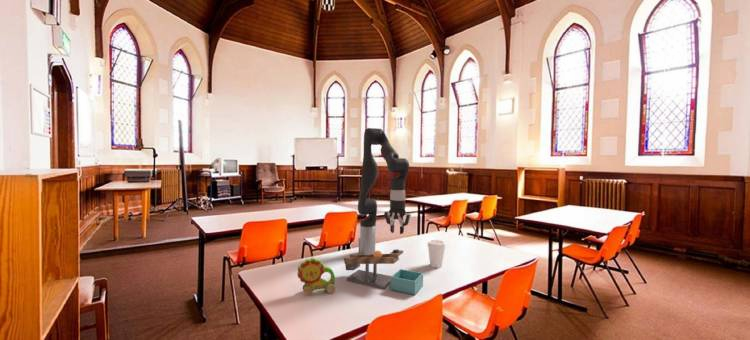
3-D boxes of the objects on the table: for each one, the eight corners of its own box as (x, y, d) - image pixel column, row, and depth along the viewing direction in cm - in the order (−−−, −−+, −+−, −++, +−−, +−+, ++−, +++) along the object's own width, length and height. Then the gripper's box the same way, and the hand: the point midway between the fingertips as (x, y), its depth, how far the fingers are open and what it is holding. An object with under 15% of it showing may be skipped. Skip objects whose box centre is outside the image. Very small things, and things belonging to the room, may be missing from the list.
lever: (345, 270, 156) (343, 258, 156) (363, 259, 173) (361, 248, 173) (394, 270, 145) (392, 257, 145) (408, 258, 161) (407, 247, 161)
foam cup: (443, 263, 180) (444, 240, 179) (445, 269, 171) (446, 244, 170) (426, 262, 181) (427, 239, 180) (427, 268, 172) (428, 244, 171)
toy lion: (333, 288, 145) (333, 254, 144) (335, 293, 139) (335, 258, 139) (297, 291, 140) (297, 257, 140) (297, 297, 135) (297, 261, 134)
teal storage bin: (390, 290, 143) (391, 276, 143) (400, 281, 153) (400, 268, 153) (414, 295, 138) (415, 281, 138) (422, 285, 149) (423, 273, 148)
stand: (346, 280, 153) (346, 260, 152) (358, 272, 164) (359, 253, 163) (384, 289, 144) (385, 267, 144) (395, 280, 155) (395, 259, 154)
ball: (372, 260, 151) (371, 251, 151) (376, 257, 154) (375, 249, 154) (380, 260, 149) (379, 251, 149) (383, 258, 153) (382, 249, 153)
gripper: (381, 198, 159) (380, 233, 160) (408, 200, 153) (407, 236, 154) (387, 196, 166) (386, 229, 167) (414, 199, 159) (413, 233, 160)
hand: (397, 233), depth 160 cm, fingers open, 4 cm apart
